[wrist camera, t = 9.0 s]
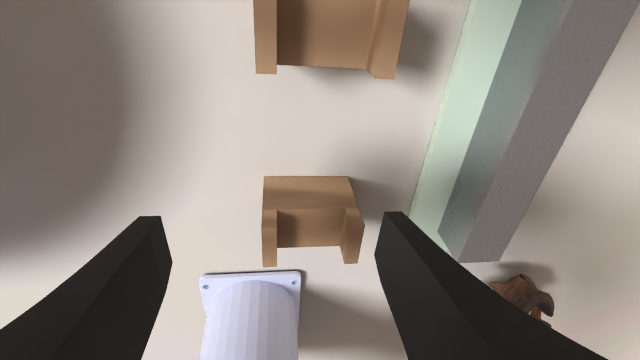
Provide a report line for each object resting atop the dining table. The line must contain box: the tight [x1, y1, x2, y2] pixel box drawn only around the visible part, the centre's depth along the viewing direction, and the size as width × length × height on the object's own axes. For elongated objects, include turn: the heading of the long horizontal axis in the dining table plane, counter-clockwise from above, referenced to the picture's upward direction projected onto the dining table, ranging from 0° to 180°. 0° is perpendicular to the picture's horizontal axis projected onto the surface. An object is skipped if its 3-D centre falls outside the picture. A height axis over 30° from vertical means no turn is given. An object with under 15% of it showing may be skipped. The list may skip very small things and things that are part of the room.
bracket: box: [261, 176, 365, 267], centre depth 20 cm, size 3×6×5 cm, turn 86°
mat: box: [408, 0, 522, 252], centre depth 21 cm, size 20×8×1 cm, turn 176°
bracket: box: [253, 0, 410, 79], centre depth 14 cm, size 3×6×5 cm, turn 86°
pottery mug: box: [490, 274, 554, 328], centre depth 30 cm, size 12×10×8 cm
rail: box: [437, 0, 640, 263], centre depth 19 cm, size 18×3×3 cm
